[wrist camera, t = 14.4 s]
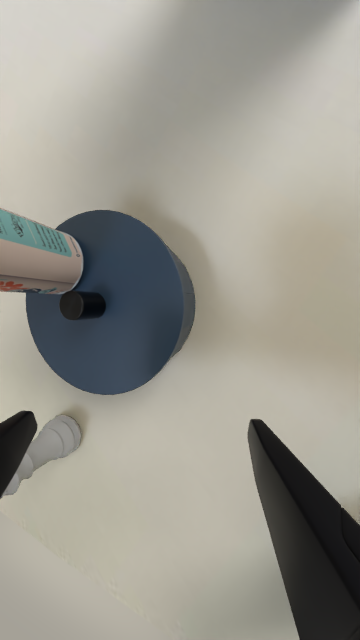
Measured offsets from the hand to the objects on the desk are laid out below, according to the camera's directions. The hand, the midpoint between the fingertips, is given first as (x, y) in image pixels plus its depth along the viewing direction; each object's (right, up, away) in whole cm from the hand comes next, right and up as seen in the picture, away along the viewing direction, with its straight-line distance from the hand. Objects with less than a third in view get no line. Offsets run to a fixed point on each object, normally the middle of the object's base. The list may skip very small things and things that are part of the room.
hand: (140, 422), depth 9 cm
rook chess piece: (-12, -9, +17) cm, 22 cm away
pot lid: (-5, +5, +8) cm, 11 cm away
